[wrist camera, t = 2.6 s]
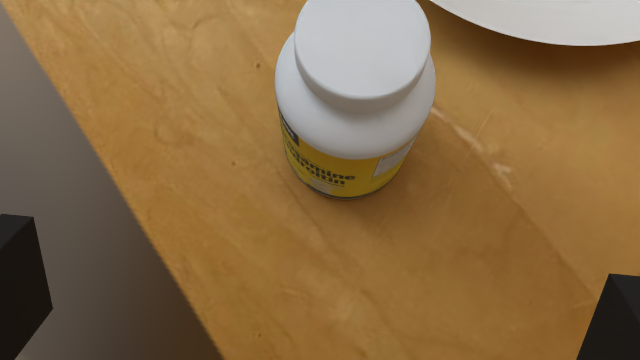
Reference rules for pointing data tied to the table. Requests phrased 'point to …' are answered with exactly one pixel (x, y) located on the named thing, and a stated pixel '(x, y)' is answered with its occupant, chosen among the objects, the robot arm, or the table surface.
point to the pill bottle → (354, 92)
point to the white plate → (554, 19)
